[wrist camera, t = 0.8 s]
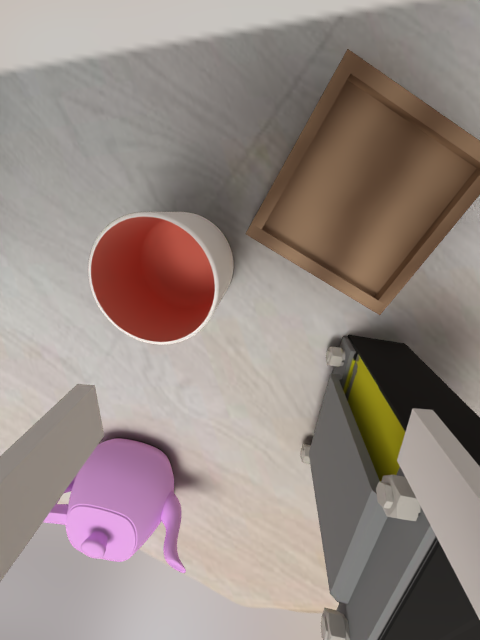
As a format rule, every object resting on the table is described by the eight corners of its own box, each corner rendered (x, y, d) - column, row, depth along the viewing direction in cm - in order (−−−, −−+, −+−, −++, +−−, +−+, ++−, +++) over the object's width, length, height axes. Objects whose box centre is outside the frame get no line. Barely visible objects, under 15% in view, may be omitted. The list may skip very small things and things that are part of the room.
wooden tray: (249, 230, 29) (245, 233, 25) (334, 77, 24) (347, 48, 20) (364, 300, 30) (379, 315, 26) (468, 169, 25) (507, 160, 21)
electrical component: (328, 331, 32) (409, 502, 13) (422, 346, 31) (647, 545, 13) (297, 452, 38) (321, 683, 19) (374, 466, 37) (476, 717, 19)
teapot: (198, 516, 44) (175, 609, 34) (73, 484, 45) (14, 565, 34) (214, 453, 40) (194, 538, 29) (75, 417, 40) (6, 488, 30)
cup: (191, 324, 33) (160, 367, 24) (124, 260, 31) (62, 281, 22) (254, 263, 30) (247, 287, 21) (184, 189, 28) (141, 177, 19)
